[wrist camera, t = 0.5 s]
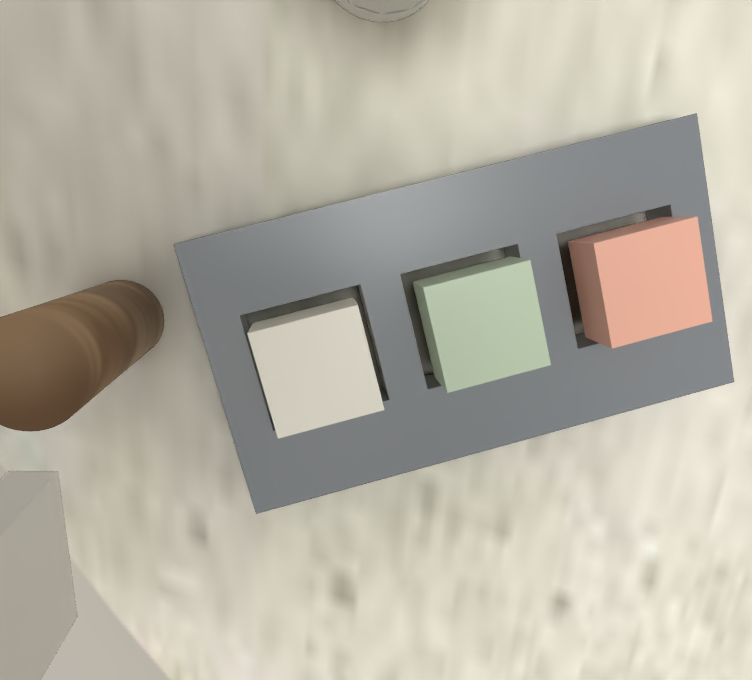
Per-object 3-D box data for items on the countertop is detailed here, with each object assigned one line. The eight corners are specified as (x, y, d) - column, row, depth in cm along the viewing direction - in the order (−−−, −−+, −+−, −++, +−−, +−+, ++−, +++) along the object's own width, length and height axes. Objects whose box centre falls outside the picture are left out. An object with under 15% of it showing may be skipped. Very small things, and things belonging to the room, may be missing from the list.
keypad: (183, 242, 33) (173, 244, 31) (669, 120, 35) (696, 113, 32) (259, 493, 36) (256, 513, 34) (706, 371, 38) (733, 382, 35)
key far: (567, 241, 33) (593, 243, 30) (662, 216, 33) (697, 216, 30) (585, 337, 34) (612, 348, 31) (677, 312, 34) (712, 321, 31)
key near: (252, 322, 32) (247, 333, 29) (352, 296, 32) (357, 304, 29) (280, 418, 33) (278, 438, 30) (377, 393, 33) (384, 410, 30)
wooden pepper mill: (71, 291, 33) (-57, 331, 21) (150, 271, 33) (66, 300, 22) (97, 366, 34) (-13, 444, 22) (174, 346, 34) (105, 413, 22)
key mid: (412, 281, 32) (423, 287, 29) (510, 256, 33) (530, 259, 30) (435, 377, 33) (447, 392, 30) (529, 352, 34) (551, 365, 31)
